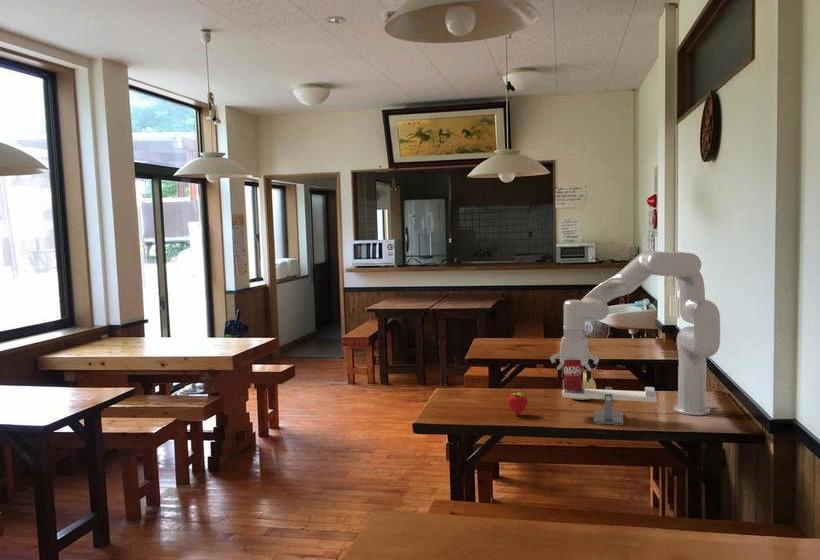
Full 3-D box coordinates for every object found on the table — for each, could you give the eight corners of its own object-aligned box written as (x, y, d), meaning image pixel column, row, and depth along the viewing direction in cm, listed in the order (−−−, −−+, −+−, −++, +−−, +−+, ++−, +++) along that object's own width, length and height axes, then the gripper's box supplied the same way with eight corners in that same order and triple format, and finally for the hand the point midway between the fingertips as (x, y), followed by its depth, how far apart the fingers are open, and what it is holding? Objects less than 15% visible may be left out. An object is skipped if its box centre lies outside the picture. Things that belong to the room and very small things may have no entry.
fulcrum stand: (622, 414, 248) (622, 386, 247) (623, 425, 235) (623, 396, 234) (594, 412, 251) (594, 385, 250) (593, 423, 238) (593, 394, 237)
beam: (655, 396, 241) (655, 386, 241) (656, 402, 234) (656, 392, 234) (563, 391, 251) (563, 382, 250) (562, 397, 243) (562, 387, 243)
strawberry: (507, 412, 254) (507, 386, 253) (527, 413, 252) (527, 386, 252) (506, 417, 248) (506, 390, 247) (527, 417, 247) (527, 390, 246)
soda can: (583, 393, 241) (583, 359, 240) (562, 392, 243) (562, 359, 242) (582, 388, 248) (582, 355, 247) (562, 387, 250) (562, 355, 249)
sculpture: (577, 393, 280) (577, 367, 279) (601, 398, 271) (601, 372, 270) (559, 398, 273) (559, 372, 272) (583, 404, 264) (583, 376, 263)
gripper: (599, 333, 245) (599, 379, 246) (550, 331, 250) (550, 377, 251) (598, 336, 238) (598, 384, 239) (549, 335, 243) (549, 381, 244)
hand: (574, 380), depth 245 cm, fingers open, 9 cm apart
